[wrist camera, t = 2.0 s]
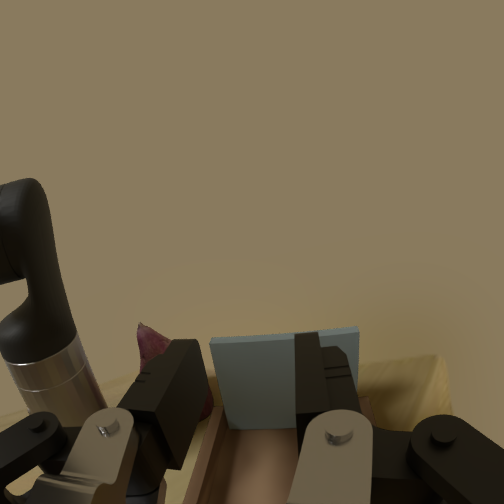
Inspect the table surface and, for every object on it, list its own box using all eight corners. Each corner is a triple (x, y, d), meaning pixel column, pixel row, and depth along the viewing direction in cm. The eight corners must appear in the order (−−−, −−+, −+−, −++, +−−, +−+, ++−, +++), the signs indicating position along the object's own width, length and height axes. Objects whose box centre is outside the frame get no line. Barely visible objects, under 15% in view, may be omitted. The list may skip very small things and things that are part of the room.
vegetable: (144, 430, 40) (85, 350, 36) (181, 387, 48) (133, 311, 45) (194, 442, 34) (126, 351, 31) (230, 389, 43) (180, 303, 39)
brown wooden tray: (188, 556, 17) (171, 537, 16) (221, 434, 35) (213, 406, 34) (389, 551, 15) (402, 531, 14) (364, 425, 32) (368, 395, 31)
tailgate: (229, 429, 33) (209, 343, 30) (232, 415, 35) (214, 331, 32) (354, 421, 31) (359, 331, 28) (351, 407, 33) (354, 320, 30)
